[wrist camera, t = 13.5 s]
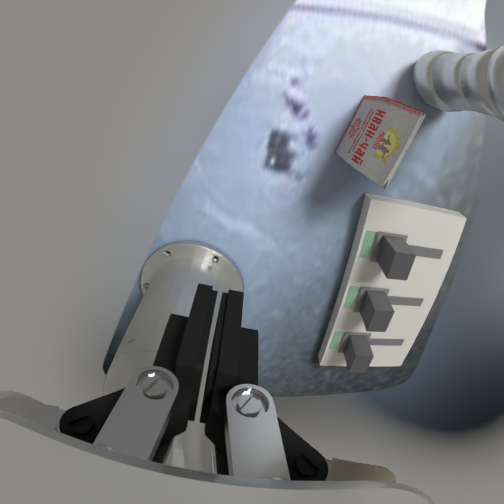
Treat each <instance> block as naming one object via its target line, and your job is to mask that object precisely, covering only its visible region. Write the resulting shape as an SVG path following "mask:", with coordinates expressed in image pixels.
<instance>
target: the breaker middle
mask: <svg viewBox="0 0 504 504" xmlns="http://www.w3.org/2000/svg"><path fill="white" fill-rule="evenodd" d="M389 290H390V289H386V288H374V287H363V286H362V288H361V291H360V294H359V297H358V299H357V302H356V305H355V308H354V312H360V314H361V317H362V320H363V322H364V325H365V328H366V331H369V332H386V330H387V328H388V325H389V323H390V321H391V319H392V316H393V314H394V312H395V311H394V309H393V307H392V305H391V303H390V301H389V299H388V297H387V295H388V293H389Z"/></svg>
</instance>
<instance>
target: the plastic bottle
mask: <svg viewBox="0 0 504 504" xmlns="http://www.w3.org/2000/svg"><path fill="white" fill-rule="evenodd" d="M413 80H414V84H415V87H416V90H417V91H418V93H419V95H420V96H421V97H422V99H423V100H424V101H425V102H427V103H428V104H430V105H431V106H433V107H435V108H437V109H439V110H442V111H447V112H455V111H463V110H465V111H477V112H480V113H483V114H486V115H490V116H493V117H495V118H497V119H499V120H501V121H503V122H504V46H502V47H498V48H495V49H491V50H488V51H484V52H477V53H470V54H465V53H454V52H450V51H443V50H435V51H431V52H429V53H427V54H425V55H423V56H422V57H421V58H420V59H418V61H417V62H416V64H415V67H414V72H413Z"/></svg>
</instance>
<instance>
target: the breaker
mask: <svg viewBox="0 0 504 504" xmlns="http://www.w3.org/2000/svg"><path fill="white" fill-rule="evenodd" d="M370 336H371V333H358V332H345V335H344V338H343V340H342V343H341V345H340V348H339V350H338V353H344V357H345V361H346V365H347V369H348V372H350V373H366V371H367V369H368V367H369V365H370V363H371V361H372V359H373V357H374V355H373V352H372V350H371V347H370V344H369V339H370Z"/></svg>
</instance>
